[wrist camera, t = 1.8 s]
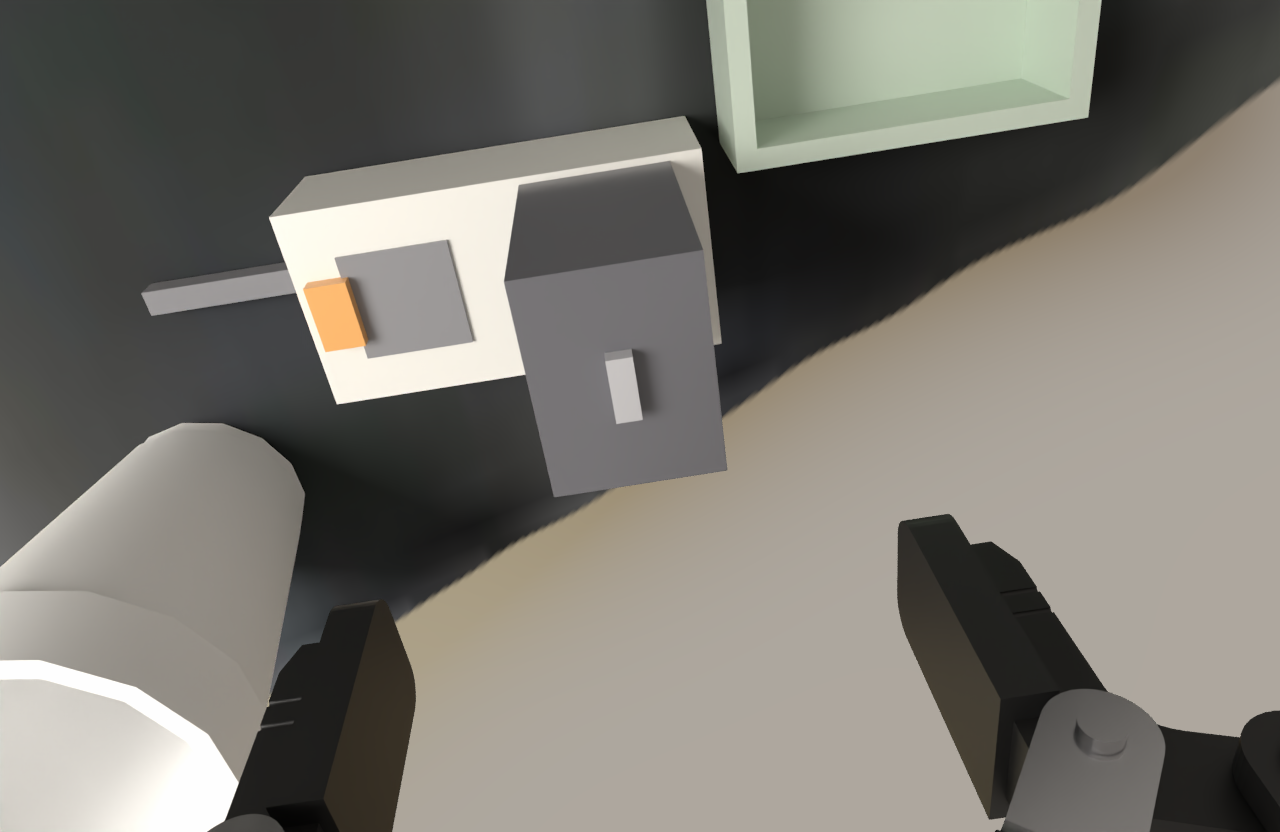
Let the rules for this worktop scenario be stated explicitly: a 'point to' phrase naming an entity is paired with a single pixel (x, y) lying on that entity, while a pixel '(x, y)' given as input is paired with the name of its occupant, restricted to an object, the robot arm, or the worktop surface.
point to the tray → (892, 73)
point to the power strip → (428, 256)
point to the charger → (615, 329)
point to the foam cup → (146, 637)
